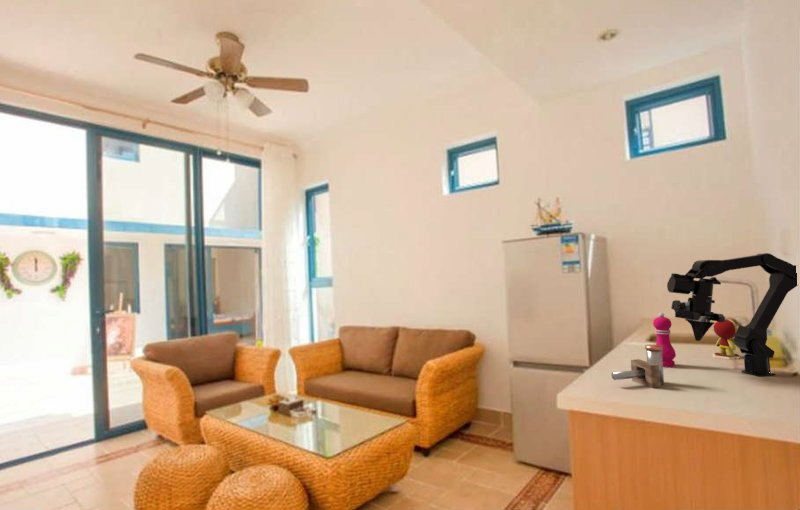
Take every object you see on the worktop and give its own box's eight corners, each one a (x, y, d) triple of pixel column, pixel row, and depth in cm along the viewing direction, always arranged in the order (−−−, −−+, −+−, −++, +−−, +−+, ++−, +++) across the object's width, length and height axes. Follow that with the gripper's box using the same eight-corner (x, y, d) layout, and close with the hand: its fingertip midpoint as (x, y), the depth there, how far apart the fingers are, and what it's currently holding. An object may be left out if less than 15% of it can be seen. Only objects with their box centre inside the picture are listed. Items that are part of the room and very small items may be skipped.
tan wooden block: (640, 380, 141) (638, 359, 142) (660, 387, 132) (658, 364, 133) (632, 380, 141) (630, 359, 141) (652, 388, 132) (650, 365, 132)
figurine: (747, 358, 163) (744, 319, 164) (722, 359, 163) (719, 321, 164) (730, 354, 172) (727, 317, 173) (706, 355, 172) (703, 318, 172)
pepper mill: (680, 367, 155) (676, 313, 156) (658, 367, 156) (654, 313, 157) (671, 363, 162) (667, 311, 163) (651, 363, 163) (647, 311, 164)
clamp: (657, 380, 140) (654, 344, 141) (669, 383, 135) (666, 346, 136) (609, 384, 138) (607, 348, 138) (619, 388, 133) (617, 350, 133)
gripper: (694, 295, 157) (690, 336, 156) (661, 291, 149) (657, 335, 149) (727, 298, 147) (723, 343, 146) (694, 295, 139) (690, 342, 138)
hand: (697, 340), depth 145 cm, fingers closed
